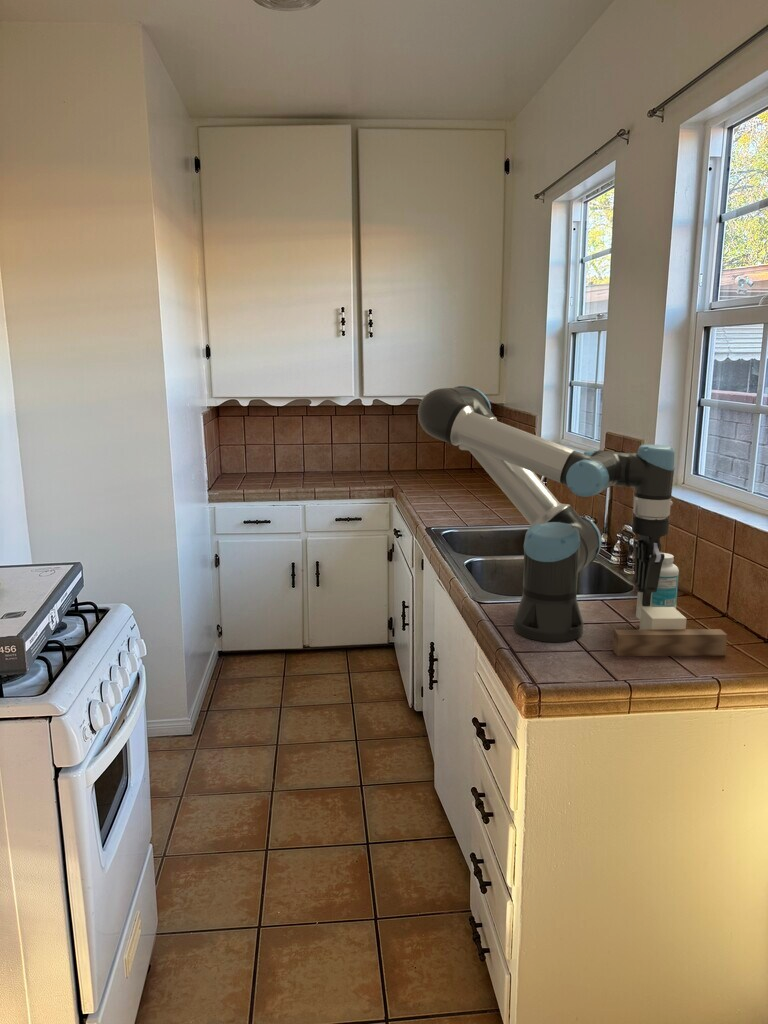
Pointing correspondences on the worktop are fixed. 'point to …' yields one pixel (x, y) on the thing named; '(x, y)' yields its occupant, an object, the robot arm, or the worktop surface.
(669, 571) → the pill bottle
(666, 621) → the block
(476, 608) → the worktop surface
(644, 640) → the board
